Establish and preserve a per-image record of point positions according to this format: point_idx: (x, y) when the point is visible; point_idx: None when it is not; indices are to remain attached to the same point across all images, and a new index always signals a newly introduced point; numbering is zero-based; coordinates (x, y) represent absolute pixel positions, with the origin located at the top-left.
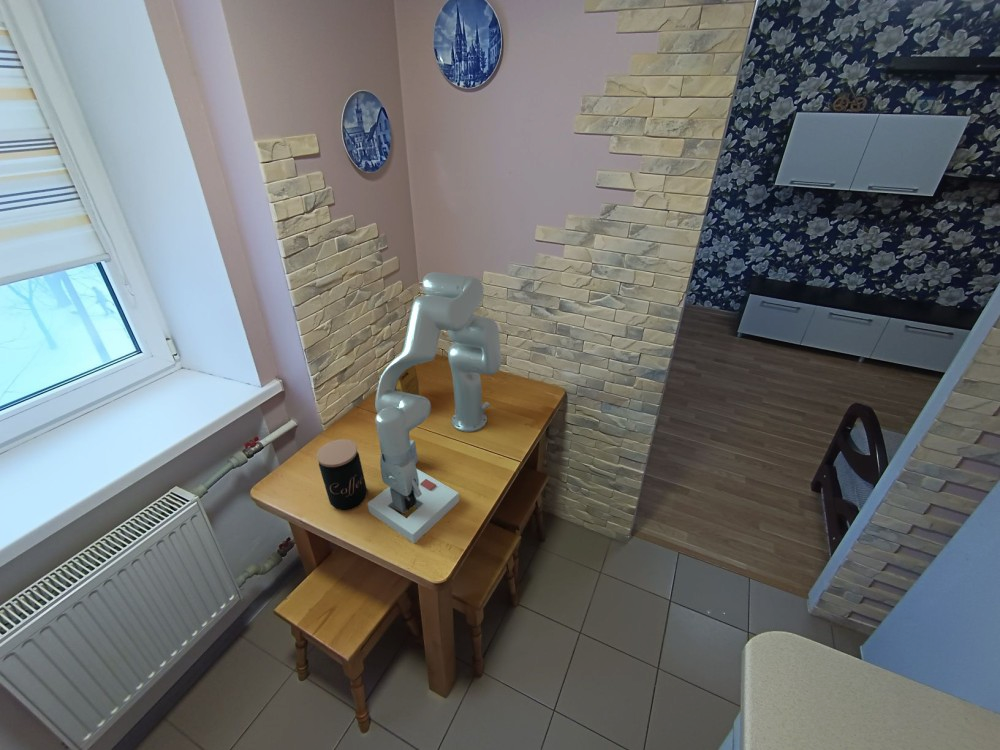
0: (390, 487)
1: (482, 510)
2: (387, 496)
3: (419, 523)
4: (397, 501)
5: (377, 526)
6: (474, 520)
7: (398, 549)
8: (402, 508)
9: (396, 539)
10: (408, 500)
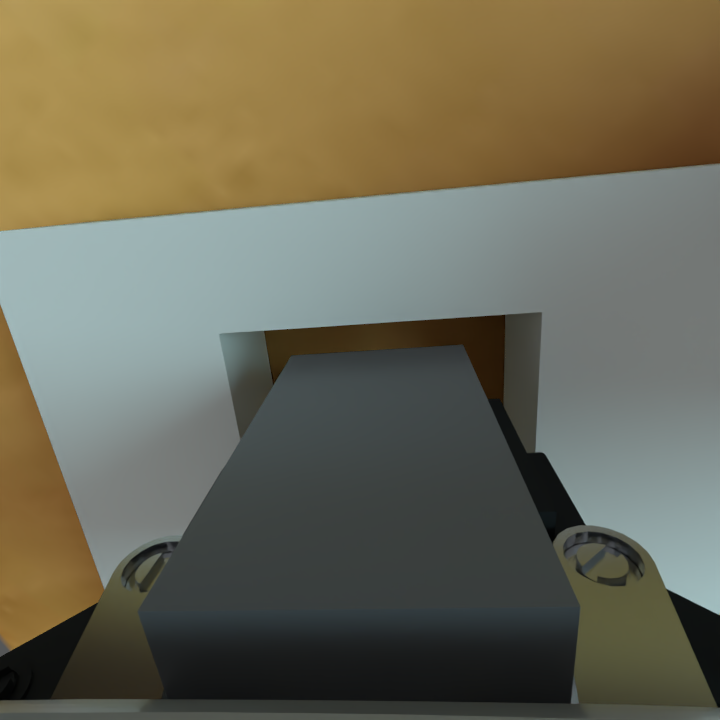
0: (652, 580)
1: None
2: (654, 401)
3: (73, 376)
4: (351, 425)
5: (490, 105)
6: (9, 605)
7: (104, 75)
8: (275, 389)
9: (216, 139)
10: (139, 550)
